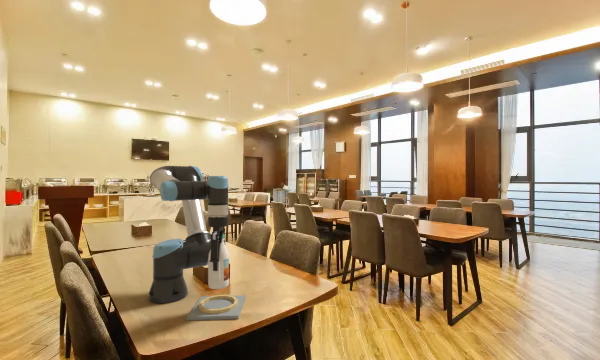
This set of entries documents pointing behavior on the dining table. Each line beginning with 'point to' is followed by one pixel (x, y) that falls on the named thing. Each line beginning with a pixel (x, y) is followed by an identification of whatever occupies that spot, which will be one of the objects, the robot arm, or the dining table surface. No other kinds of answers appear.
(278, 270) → the dining table surface
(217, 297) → the ring board
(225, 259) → the milk bottle
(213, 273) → the robot arm
